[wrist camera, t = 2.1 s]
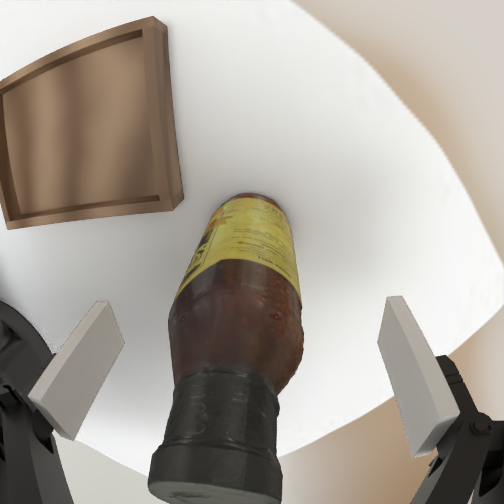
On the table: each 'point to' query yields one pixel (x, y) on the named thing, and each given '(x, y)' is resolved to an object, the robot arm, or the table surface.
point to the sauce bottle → (231, 360)
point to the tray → (91, 130)
